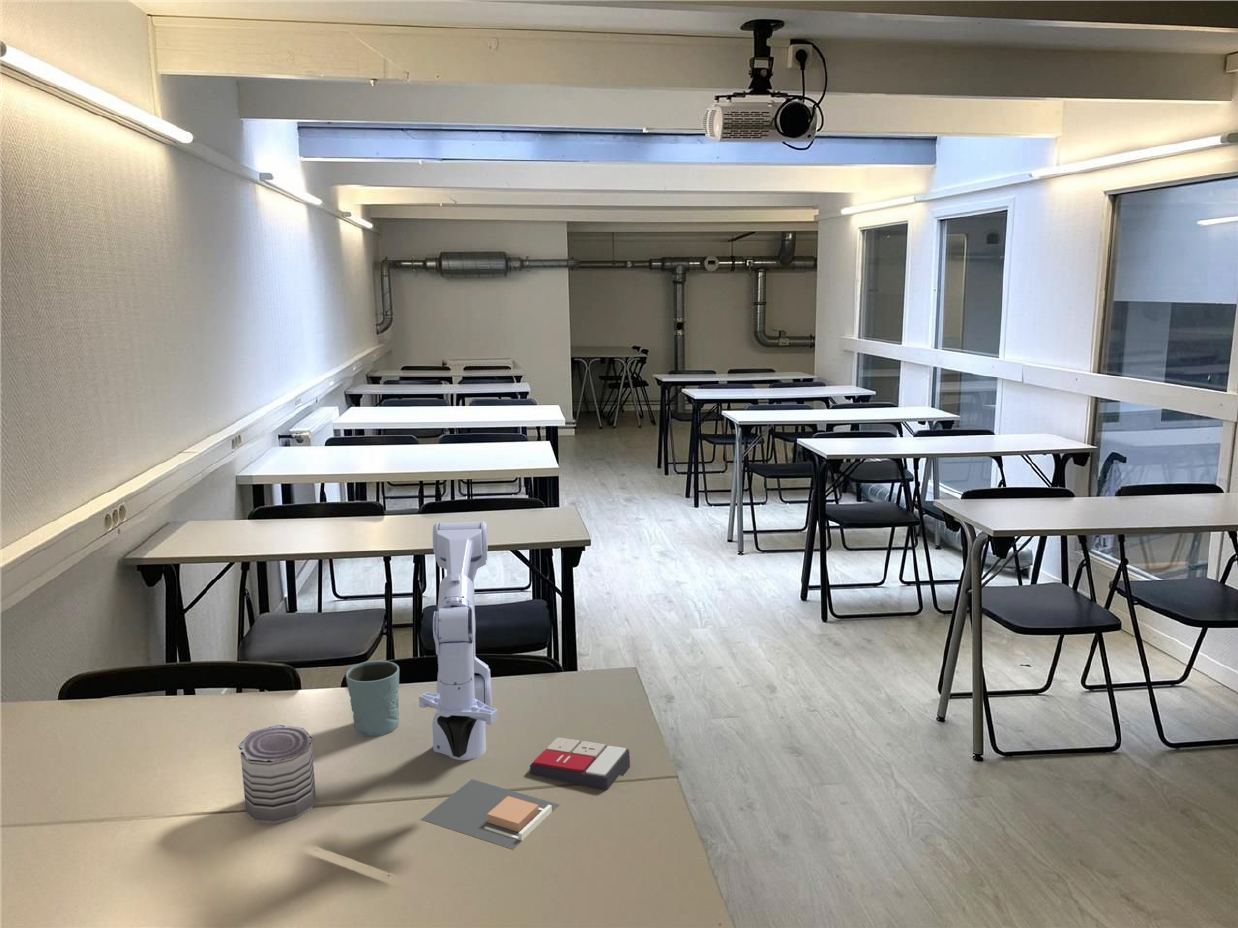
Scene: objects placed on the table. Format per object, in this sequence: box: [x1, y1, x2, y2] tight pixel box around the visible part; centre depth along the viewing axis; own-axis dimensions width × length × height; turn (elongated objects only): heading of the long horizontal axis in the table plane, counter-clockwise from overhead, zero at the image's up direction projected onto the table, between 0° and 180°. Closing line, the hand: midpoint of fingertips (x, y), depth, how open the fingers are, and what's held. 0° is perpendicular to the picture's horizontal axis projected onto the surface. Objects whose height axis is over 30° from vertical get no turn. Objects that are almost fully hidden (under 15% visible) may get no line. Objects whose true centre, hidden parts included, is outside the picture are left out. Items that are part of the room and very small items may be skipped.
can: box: [237, 724, 317, 825], centre depth 157 cm, size 11×11×12 cm
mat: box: [420, 779, 560, 850], centre depth 154 cm, size 18×14×2 cm
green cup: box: [345, 660, 400, 738], centre depth 185 cm, size 10×10×12 cm
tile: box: [487, 796, 539, 832], centre depth 152 cm, size 2×6×6 cm
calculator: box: [529, 736, 631, 791], centre depth 168 cm, size 11×4×15 cm
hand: (459, 754), depth 155 cm, fingers closed
